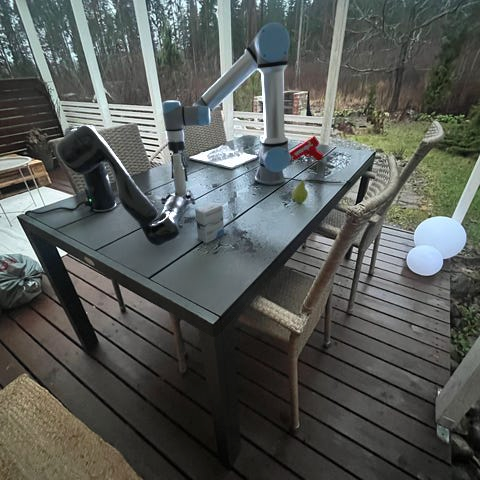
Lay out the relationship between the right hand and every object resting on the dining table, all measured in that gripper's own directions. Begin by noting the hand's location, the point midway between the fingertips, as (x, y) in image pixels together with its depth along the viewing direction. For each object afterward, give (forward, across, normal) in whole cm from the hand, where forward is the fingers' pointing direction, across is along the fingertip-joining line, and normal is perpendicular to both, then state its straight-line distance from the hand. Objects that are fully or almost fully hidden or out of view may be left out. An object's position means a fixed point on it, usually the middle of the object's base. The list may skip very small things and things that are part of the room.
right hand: (181, 186), depth 131 cm
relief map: (+3, -56, +15) cm, 58 cm away
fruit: (+3, +10, +55) cm, 56 cm away
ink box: (+3, +41, +19) cm, 45 cm away
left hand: (-3, +15, +4) cm, 16 cm away
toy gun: (+3, -54, +68) cm, 87 cm away
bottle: (+3, +18, +4) cm, 18 cm away
